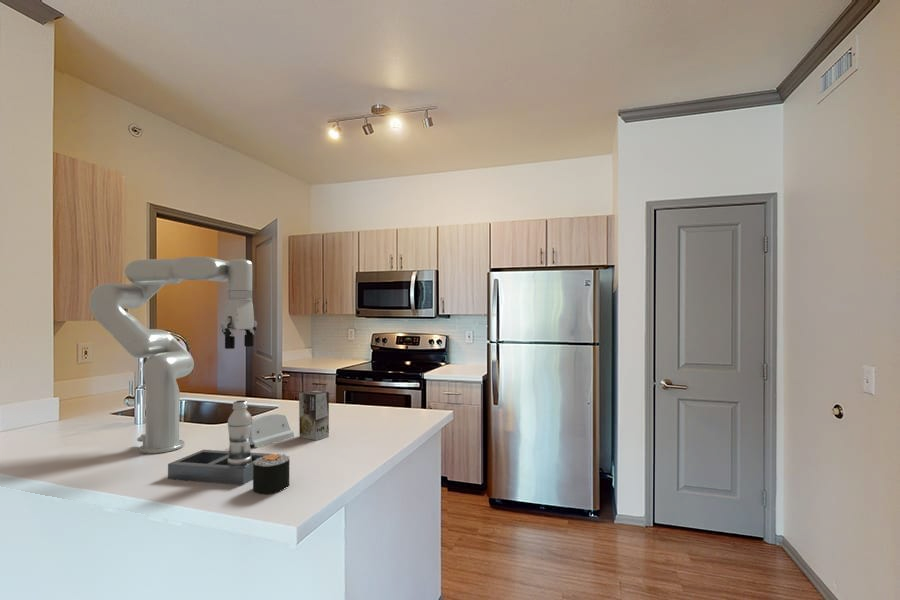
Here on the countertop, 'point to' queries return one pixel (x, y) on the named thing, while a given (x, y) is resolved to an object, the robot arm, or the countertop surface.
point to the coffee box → (314, 414)
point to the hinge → (269, 430)
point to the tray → (211, 468)
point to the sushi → (271, 473)
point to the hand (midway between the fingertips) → (239, 347)
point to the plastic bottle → (239, 435)
